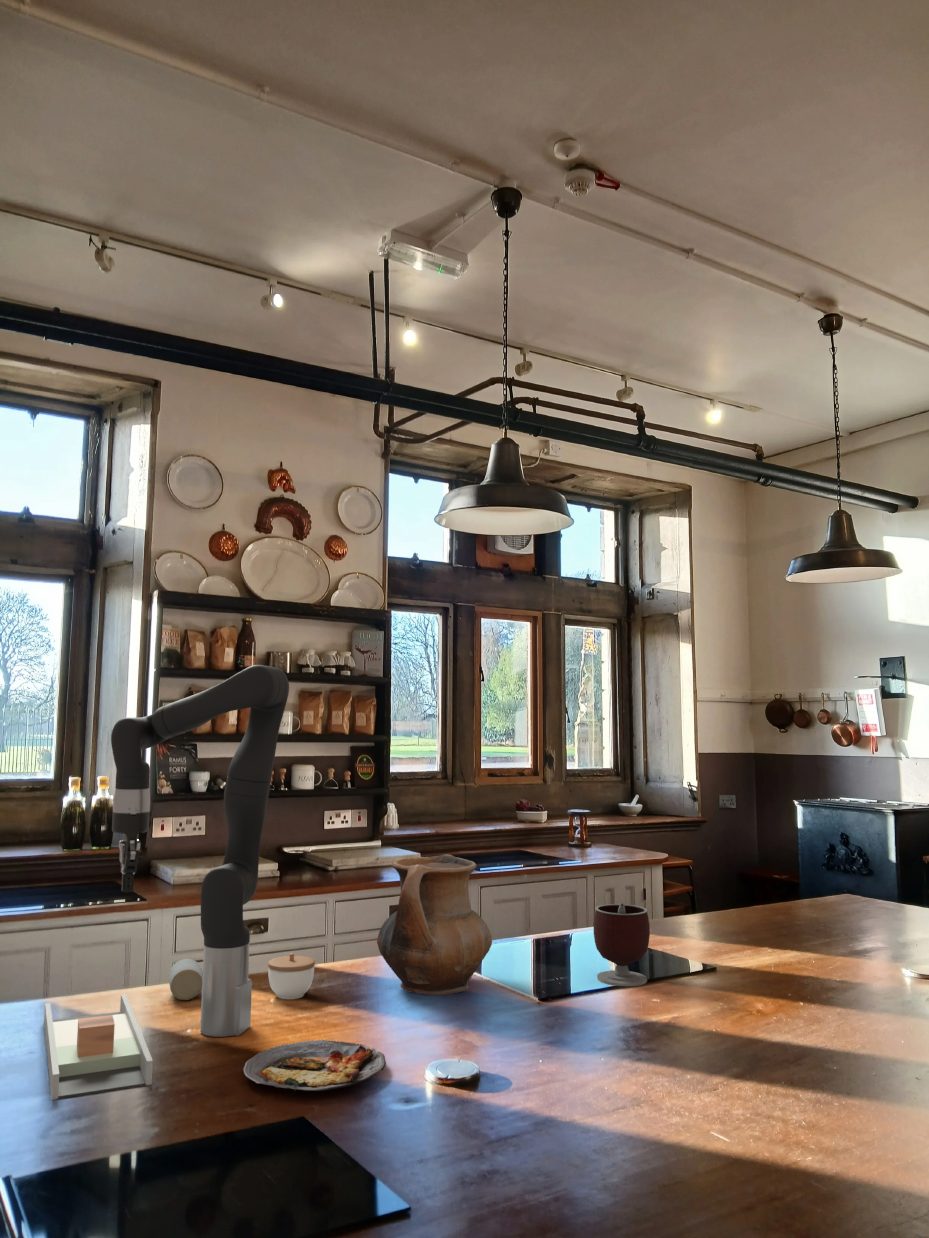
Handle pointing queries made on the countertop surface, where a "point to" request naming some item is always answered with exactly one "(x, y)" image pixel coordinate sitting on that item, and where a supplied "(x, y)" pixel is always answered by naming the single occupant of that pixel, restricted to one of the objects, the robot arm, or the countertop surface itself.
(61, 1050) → the pad
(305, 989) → the lidded jar
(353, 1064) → the food plate
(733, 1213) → the countertop surface
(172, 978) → the ceramic mug
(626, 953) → the mate gourd
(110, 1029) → the block
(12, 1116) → the countertop surface
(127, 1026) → the trap channel
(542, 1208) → the countertop surface
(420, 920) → the jug
